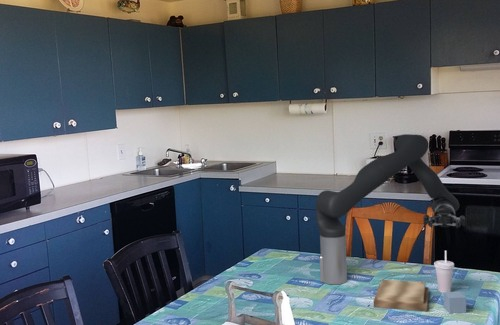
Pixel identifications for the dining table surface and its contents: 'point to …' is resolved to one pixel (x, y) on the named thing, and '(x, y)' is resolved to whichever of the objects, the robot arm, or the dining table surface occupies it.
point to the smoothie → (444, 274)
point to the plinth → (401, 304)
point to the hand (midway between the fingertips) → (444, 225)
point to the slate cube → (454, 302)
